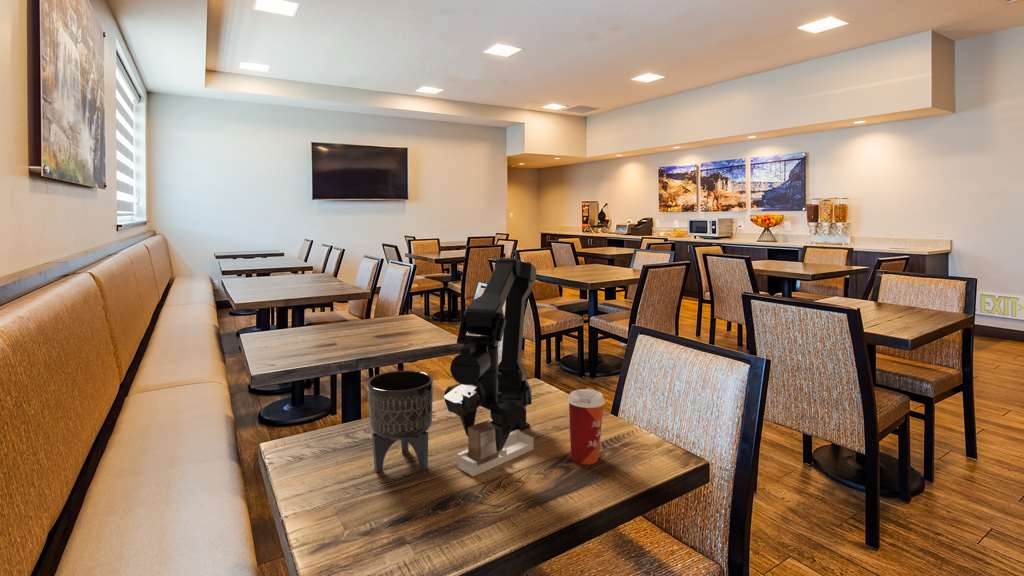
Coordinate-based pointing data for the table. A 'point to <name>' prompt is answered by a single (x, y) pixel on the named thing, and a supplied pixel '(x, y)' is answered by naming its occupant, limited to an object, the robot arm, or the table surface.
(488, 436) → the tall taupe pillar block
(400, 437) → the planter
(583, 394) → the paper cup
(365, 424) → the table surface
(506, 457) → the white tray base
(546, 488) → the table surface
